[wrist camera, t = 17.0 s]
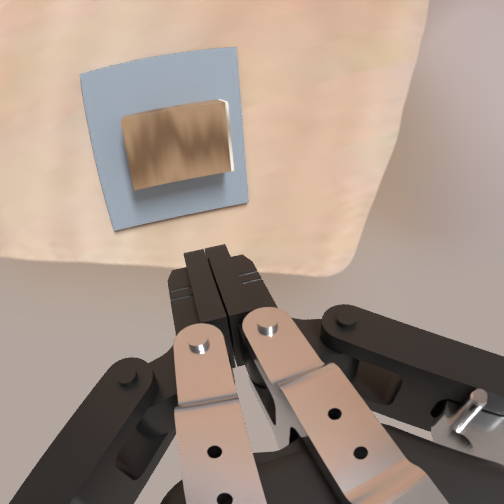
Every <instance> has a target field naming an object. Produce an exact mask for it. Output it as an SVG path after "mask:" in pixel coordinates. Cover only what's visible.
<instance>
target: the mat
mask: <svg viewBox="0 0 504 504" xmlns="http://www.w3.org/2000/svg"><path fill="white" fill-rule="evenodd" d="M80 79H81V86H82V93H83V99H84V105H85V111H86V117H87V122H88V127H89V132H90V137H91V142H92V147H93V151H94V156H95V160H96V165H97V169H98V173H99V177H100V181H101V185H102V189H103V193H104V197H105V201H106V204H107V208H108V212H109V215H110V219H111V222H112V225H113V229H114V231H116V230H121V229H125V228H129V227H133V226H138V225H142V224H146V223H151V222H155V221H160V220H165V219H169V218H174V217H178V216H183V215H188V214H193V213H197V212H202V211H207V210H212V209H217V208H222V207H227V206H233V205H238V204H243V203H248V202H249V200H248V187H247V174H246V162H245V149H244V136H243V124H242V111H241V98H240V86H239V73H238V60H237V48H236V47H227V48H215V49H205V50H196V51H188V52H181V53H174V54H168V55H162V56H156V57H150V58H145V59H140V60H135V61H130V62H126V63H121V64H117V65H113V66H109V67H105V68H101V69H97V70H94V71H90V72H87V73H83V74H80ZM217 99H222V100H224V101H227V102H228V105H229V117H230V128H231V140H232V151H233V162H234V171H231V172H225V173H219V174H213V175H207V176H202V177H197V178H191V179H186V180H181V181H176V182H171V183H166V184H161V185H157V186H152V187H147V188H143V189H138V190H134V187H133V183H132V178H131V173H130V169H129V164H128V159H127V153H126V148H125V143H124V137H123V132H122V126H121V119H122V118H123V117H124V116H126V115H130V114H135V113H140V112H144V111H149V110H154V109H160V108H165V107H171V106H176V105H182V104H189V103H195V102H202V101H209V100H217Z"/></svg>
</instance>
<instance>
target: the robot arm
mask: <svg viewBox="0 0 504 504" xmlns="http://www.w3.org/2000/svg"><path fill="white" fill-rule="evenodd" d="M184 258H185V262H186V267H185V268H181V269H176V270H172V272H171V274H170V276H169V279H168V287H169V294H170V299H171V307H172V313H173V319H174V325H175V331H176V338H175V340H174V344H173V346H172V347H171V349H170V350H169V351H168V352H167V353H165V354H164V355H163V356H161V357H159V358H157V359H156V360H154V361H152V362H150V363H147V362H146V361H144V360H142V359H139V358H125V359H122V360H119V361H118V362H116V363H114V364H113V365H112V366H111V367H110V368H109V369H108V370H107V372H106V373H105V374H104V376H103V377H102V378H101V379H100V380H99V382H98V383H97V384H96V386H95V387H94V388H93V389H92V391H91V392H90V394H89V395H88V396H87V397H86V399H85V400H84V401H83V402H82V404H81V405H80V406H79V408H78V409H77V410H76V412H75V413H74V414H73V416H72V417H71V418H70V420H69V421H68V422H67V424H66V425H65V426H64V428H63V429H62V430H61V432H60V433H59V434H58V436H57V437H56V438H55V440H54V441H53V442H52V444H51V445H50V446H49V448H48V449H47V451H46V452H45V453H44V455H43V456H42V457H41V459H40V460H39V462H38V463H37V464H36V466H35V467H34V469H33V470H32V471H31V473H30V474H29V476H28V477H27V478H26V480H25V481H24V483H23V484H22V486H21V487H20V488H19V490H18V491H17V493H16V494H15V496H14V497H13V499H12V500H11V501H10V503H9V504H134V502H135V501H136V499H137V498H138V496H139V494H140V492H141V491H142V489H143V488H144V486H145V485H146V483H147V481H148V480H149V478H150V476H151V474H152V473H153V471H154V470H155V468H156V466H157V465H158V463H159V462H160V460H161V458H162V456H163V455H164V453H165V452H166V450H167V448H168V446H169V445H170V443H171V441H172V440H173V438H174V436H175V435H177V443H178V451H179V458H180V466H181V473H182V480H181V481H180V482H179V483H177V484H176V485H175V486H174V487H173V488H172V489H171V490H170V491H169V492H168V493H167V495H166V496H165V497H164V498H163V500H162V502H161V504H504V356H500V355H497V354H494V353H491V352H488V351H485V350H482V349H479V348H476V347H473V346H470V345H467V344H464V343H461V342H458V341H455V340H452V339H449V338H446V337H443V336H440V335H437V334H434V333H431V332H428V331H425V330H422V329H419V328H416V327H414V326H410V325H408V324H404V323H402V322H399V321H396V320H393V319H390V318H387V317H384V316H382V315H379V314H376V313H373V312H370V311H367V310H364V309H361V308H358V307H356V306H352V305H344V304H343V305H336V306H333V307H331V308H330V309H328V310H327V311H326V312H325V313H324V315H323V317H322V319H311V320H300V319H294V318H291V317H290V316H289V315H288V314H287V313H286V312H285V311H283V310H281V309H279V308H278V307H277V306H276V304H275V302H274V300H273V298H272V297H271V295H270V293H269V291H268V289H267V287H266V286H265V284H264V282H263V280H262V279H261V276H260V275H259V273H258V272H257V269H256V267H255V265H254V264H253V262H252V261H251V260H250V259H248V258H247V257H245V256H244V255H238V256H234V257H231V256H230V254H229V252H228V250H227V247H226V245H225V244H224V245H219V246H214V247H210V248H205V252H204V249H201V250H197V251H192V252H188V253H184ZM233 355H234V356H233ZM234 358H235V361H236V363H237V366H242V365H245V366H246V369H247V371H248V374H249V381H250V385H251V387H252V389H253V391H254V393H255V395H256V398H257V399H258V402H259V404H260V406H261V408H262V410H263V412H264V413H265V415H266V417H267V419H268V421H269V423H270V425H271V427H272V429H273V431H274V434H275V437H276V441H277V444H278V446H279V449H280V450H279V451H274V452H262V453H252V449H251V445H250V442H249V438H248V434H247V430H246V427H245V422H244V418H243V414H242V411H241V406H240V403H239V398H238V396H237V392H236V388H235V380H234V374H233V370H232V368H235V361H234ZM371 410H372V411H374V412H377V413H380V414H382V415H385V416H387V417H390V418H393V419H396V420H398V421H401V422H404V423H407V424H410V425H412V426H415V427H418V428H421V429H424V430H427V431H431V434H432V437H433V442H432V441H429V440H426V439H424V438H421V437H418V436H415V435H413V434H410V433H408V432H405V431H403V430H400V429H398V428H395V427H393V426H390V425H386V424H382V423H380V422H379V421H378V419H377V418H376V417H375V415H374V414H373V413H372V411H371Z"/></svg>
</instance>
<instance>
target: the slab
mask: <svg viewBox="0 0 504 504" xmlns="http://www.w3.org/2000/svg"><path fill="white" fill-rule="evenodd" d="M121 126H122V132H123V137H124V143H125V148H126V153H127V159H128V164H129V169H130V173H131V178H132V183H133V187H134V190H138V189H143V188H147V187H152V186H157V185H161V184H166V183H171V182H176V181H181V180H186V179H191V178H197V177H202V176H207V175H213V174H219V173H225V172H231V171H234V162H233V151H232V140H231V128H230V117H229V105H228V102H227V101H224V100H222V99H217V100H209V101H202V102H195V103H189V104H182V105H176V106H171V107H165V108H160V109H154V110H149V111H144V112H140V113H135V114H130V115H126V116H124V117H123V118H122V119H121Z"/></svg>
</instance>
